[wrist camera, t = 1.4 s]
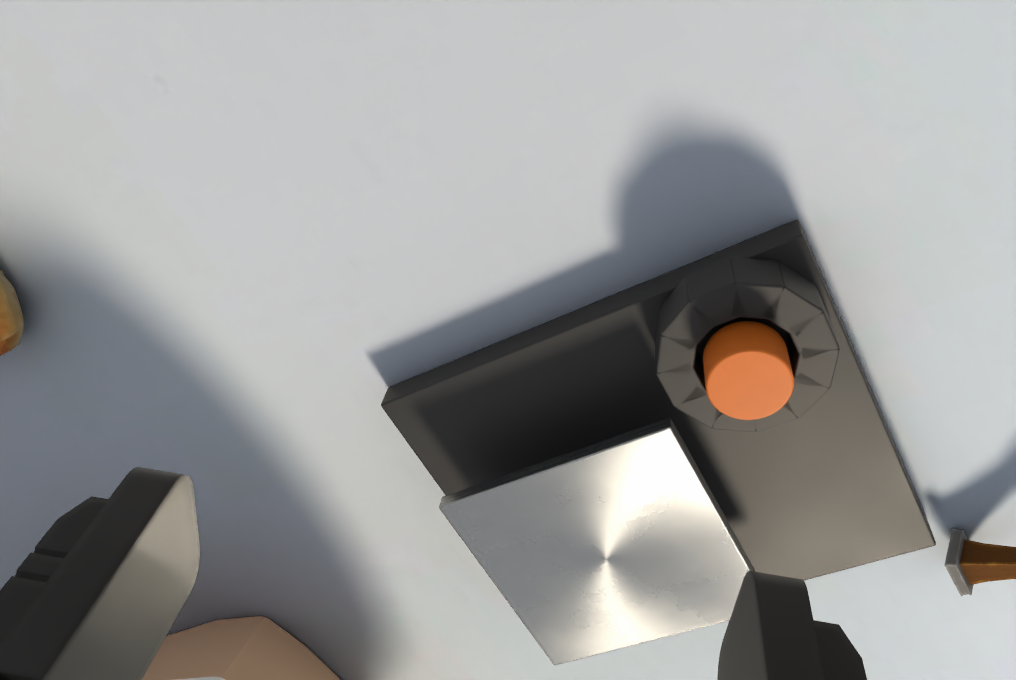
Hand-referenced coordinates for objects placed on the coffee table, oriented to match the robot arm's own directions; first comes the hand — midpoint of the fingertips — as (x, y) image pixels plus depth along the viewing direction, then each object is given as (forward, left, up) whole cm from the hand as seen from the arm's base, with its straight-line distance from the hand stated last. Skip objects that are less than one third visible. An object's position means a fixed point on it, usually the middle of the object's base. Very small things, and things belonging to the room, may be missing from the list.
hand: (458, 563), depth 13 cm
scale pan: (+5, +14, -15) cm, 21 cm away
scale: (+2, +13, -18) cm, 23 cm away
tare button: (-3, +8, -16) cm, 18 cm away
